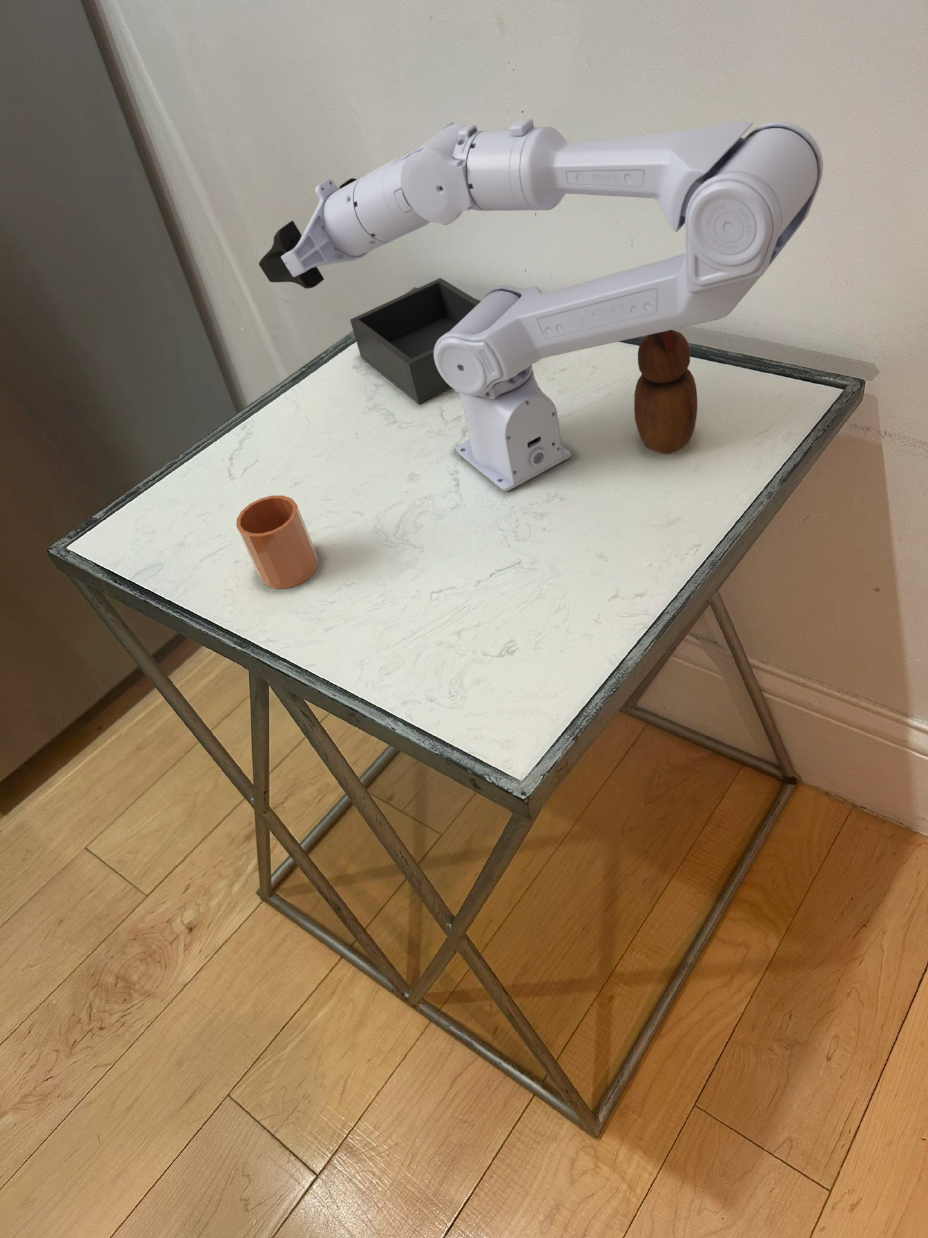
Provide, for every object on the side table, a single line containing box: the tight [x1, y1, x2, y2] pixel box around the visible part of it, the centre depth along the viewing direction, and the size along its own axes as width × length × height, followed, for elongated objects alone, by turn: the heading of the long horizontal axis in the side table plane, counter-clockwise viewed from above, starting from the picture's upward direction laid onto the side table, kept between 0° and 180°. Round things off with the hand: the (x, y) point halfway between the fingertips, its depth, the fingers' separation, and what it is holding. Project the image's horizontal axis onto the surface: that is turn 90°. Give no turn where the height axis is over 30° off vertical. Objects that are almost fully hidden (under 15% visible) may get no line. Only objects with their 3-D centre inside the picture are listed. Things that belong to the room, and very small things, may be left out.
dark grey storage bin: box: [349, 277, 481, 405], centre depth 109 cm, size 15×13×5 cm
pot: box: [235, 494, 319, 590], centre depth 86 cm, size 6×6×6 cm
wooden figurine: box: [633, 329, 698, 454], centre depth 86 cm, size 7×6×15 cm
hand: (291, 252), depth 92 cm, fingers open, 7 cm apart
